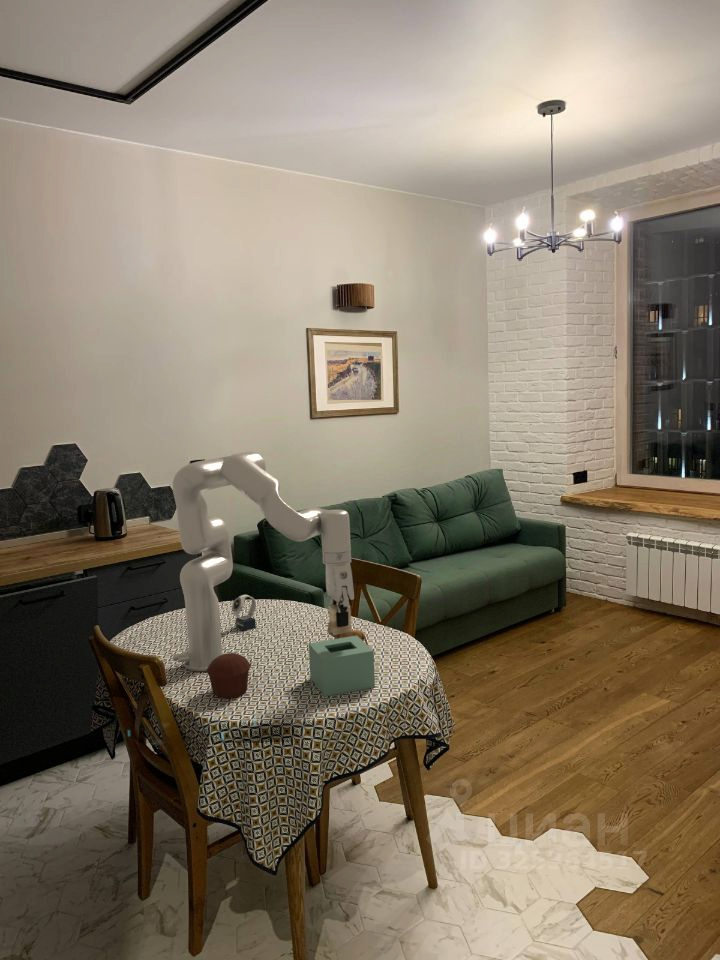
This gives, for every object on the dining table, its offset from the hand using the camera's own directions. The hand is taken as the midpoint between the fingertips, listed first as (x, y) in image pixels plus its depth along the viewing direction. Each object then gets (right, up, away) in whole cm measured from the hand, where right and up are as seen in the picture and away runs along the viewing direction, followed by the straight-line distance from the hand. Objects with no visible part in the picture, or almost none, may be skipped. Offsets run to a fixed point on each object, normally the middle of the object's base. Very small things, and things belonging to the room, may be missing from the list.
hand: (340, 623), depth 193 cm
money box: (0, -16, +2) cm, 17 cm away
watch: (-33, -12, +50) cm, 62 cm away
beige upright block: (0, -2, 0) cm, 2 cm away
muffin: (-29, -18, -1) cm, 34 cm away
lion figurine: (+2, -14, +26) cm, 29 cm away
